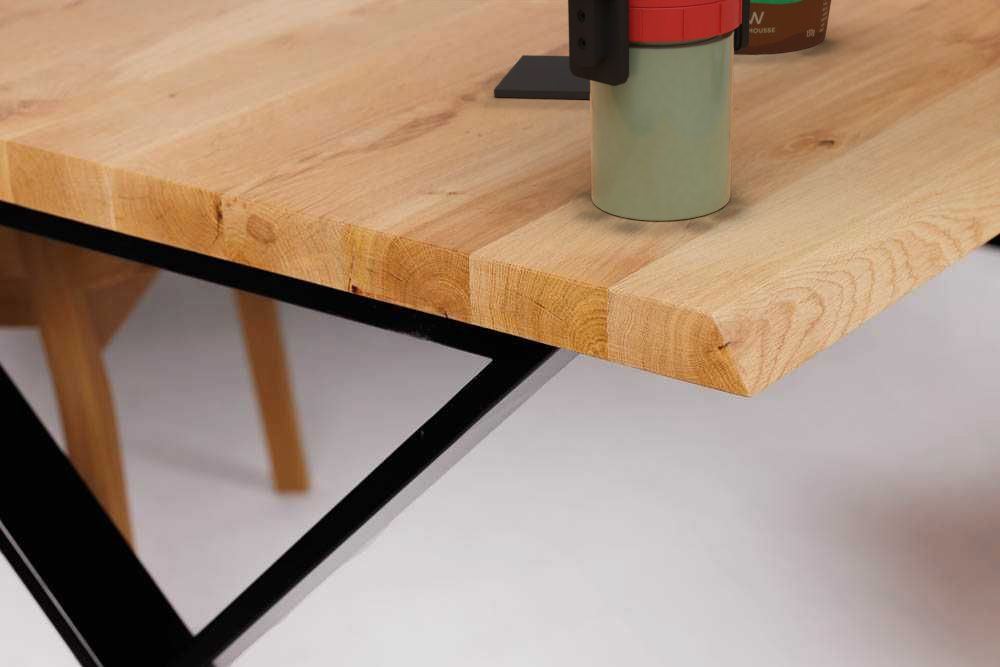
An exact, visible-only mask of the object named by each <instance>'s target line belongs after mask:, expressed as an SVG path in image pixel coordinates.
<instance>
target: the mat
mask: <svg viewBox="0 0 1000 667" xmlns="http://www.w3.org/2000/svg"><path fill="white" fill-rule="evenodd" d="M493 97H494V98H509V99H510V98H511V99H512V98H514V99H515V98H516V99H520V98H521V99H551V100H552V99H555V100H556V99H557V100H590V84H589V80H588V79H584V78H580V77H576V76H574V75H573V74H572V73H571V71H570V67H569V55H536V54H535V55H533V54H532V55H531V54H529V55H528V54H522V56H521V57H520V58H518V60H517V62H516V63H515V64H514V65H513V66H512V68H511V69H510V70H509V71H508V72H507V74H505V76H504V77H503V78H502V80H500V81H499V83H498V84H497V85H496V86H495V87H494V89H493Z"/></svg>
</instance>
